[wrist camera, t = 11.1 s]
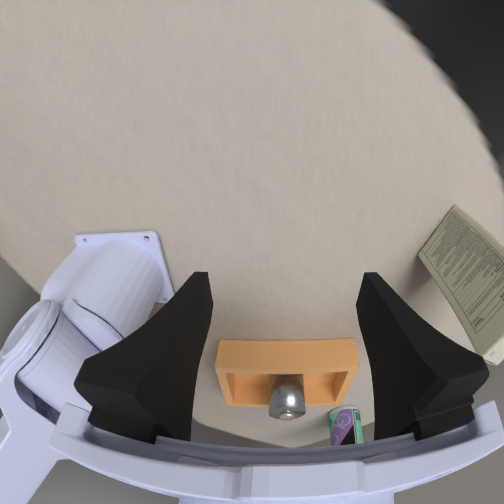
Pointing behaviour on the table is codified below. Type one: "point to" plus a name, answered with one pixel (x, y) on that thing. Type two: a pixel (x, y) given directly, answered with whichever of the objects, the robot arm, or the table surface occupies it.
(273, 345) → the trough
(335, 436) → the spray can
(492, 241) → the skincare box
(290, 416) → the cell
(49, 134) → the table surface
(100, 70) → the table surface
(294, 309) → the table surface
